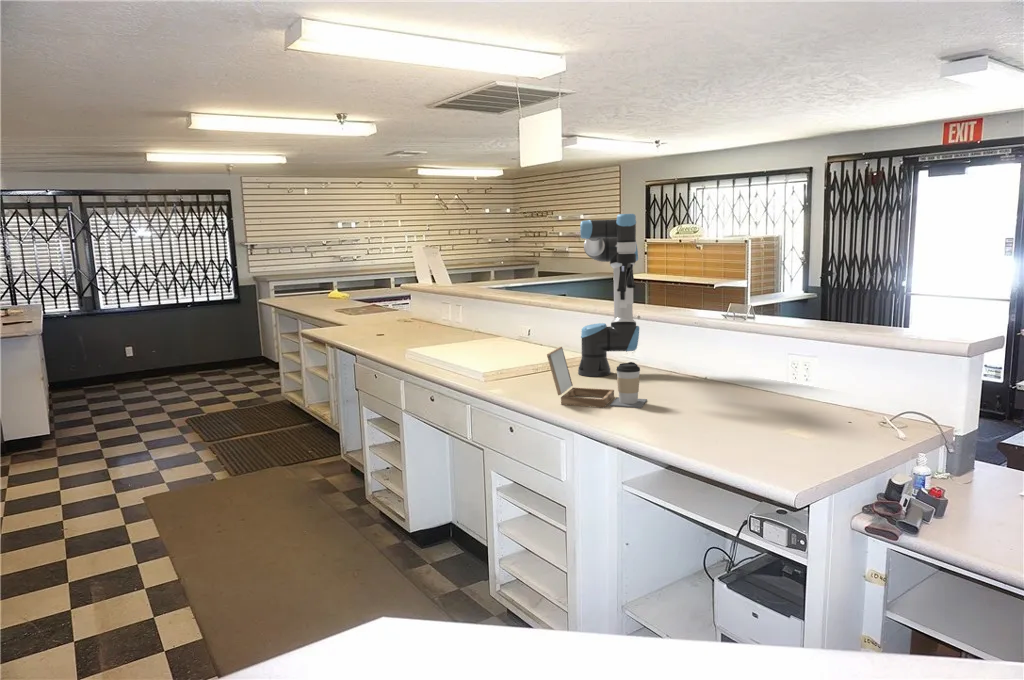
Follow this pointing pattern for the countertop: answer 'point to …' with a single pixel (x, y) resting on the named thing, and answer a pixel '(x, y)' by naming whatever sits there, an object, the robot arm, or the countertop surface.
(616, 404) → the mat
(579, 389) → the tray
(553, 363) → the lid
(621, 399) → the coffee cup
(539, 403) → the countertop surface
